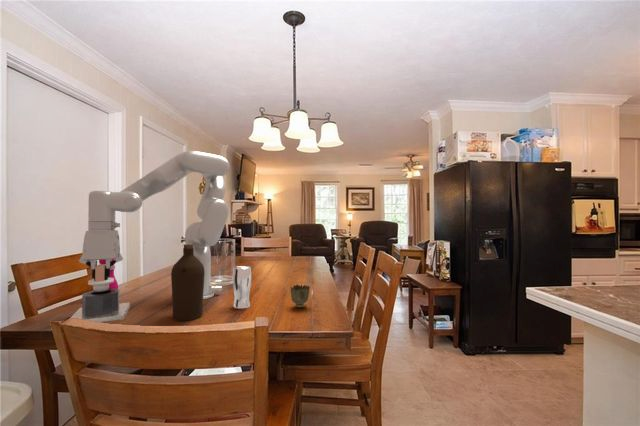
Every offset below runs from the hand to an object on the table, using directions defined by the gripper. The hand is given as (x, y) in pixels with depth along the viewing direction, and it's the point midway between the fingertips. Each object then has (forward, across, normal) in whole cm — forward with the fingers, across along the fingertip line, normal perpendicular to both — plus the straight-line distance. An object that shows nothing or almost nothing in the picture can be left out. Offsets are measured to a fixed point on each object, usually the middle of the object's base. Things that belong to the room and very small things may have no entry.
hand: (101, 279), depth 103 cm
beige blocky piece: (+4, 0, 0) cm, 4 cm away
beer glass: (+13, -46, +10) cm, 49 cm away
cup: (+12, -66, +20) cm, 70 cm away
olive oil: (+13, -27, +13) cm, 33 cm away
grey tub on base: (+13, 0, 0) cm, 13 cm away
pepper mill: (+13, +2, -23) cm, 26 cm away
